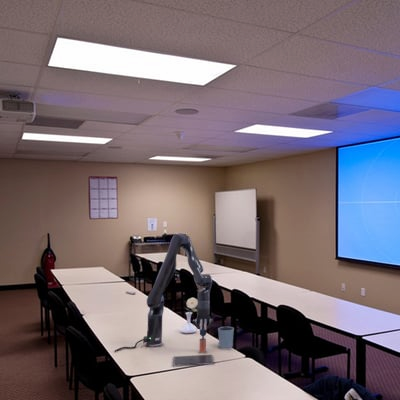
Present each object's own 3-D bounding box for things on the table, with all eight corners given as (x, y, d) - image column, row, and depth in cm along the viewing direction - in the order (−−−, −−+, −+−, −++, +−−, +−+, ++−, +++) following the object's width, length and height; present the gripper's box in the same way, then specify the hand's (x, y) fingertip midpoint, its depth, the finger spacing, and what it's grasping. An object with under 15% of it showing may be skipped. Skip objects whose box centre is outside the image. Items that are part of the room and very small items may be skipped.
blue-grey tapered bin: (221, 350, 263) (221, 331, 263) (215, 346, 272) (215, 327, 272) (236, 348, 268) (236, 329, 268) (230, 343, 276) (230, 325, 277)
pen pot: (199, 353, 257) (199, 340, 257) (199, 351, 260) (199, 338, 261) (205, 353, 257) (206, 340, 258) (205, 351, 261) (205, 338, 261)
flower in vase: (177, 333, 299) (177, 297, 300) (186, 329, 310) (186, 295, 310) (193, 335, 294) (193, 299, 295) (201, 331, 305) (202, 296, 305)
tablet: (173, 366, 235) (173, 364, 235) (174, 357, 249) (174, 356, 249) (213, 364, 239) (213, 362, 239) (211, 355, 253) (211, 354, 253)
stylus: (201, 349, 259) (202, 327, 259) (201, 348, 260) (202, 327, 260) (203, 349, 259) (204, 327, 259) (203, 348, 260) (204, 327, 260)
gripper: (214, 305, 265) (213, 333, 264) (192, 306, 262) (191, 334, 262) (214, 308, 257) (214, 336, 257) (192, 308, 255) (191, 337, 254)
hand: (202, 335), depth 259 cm, fingers closed on stylus, 1 cm apart
